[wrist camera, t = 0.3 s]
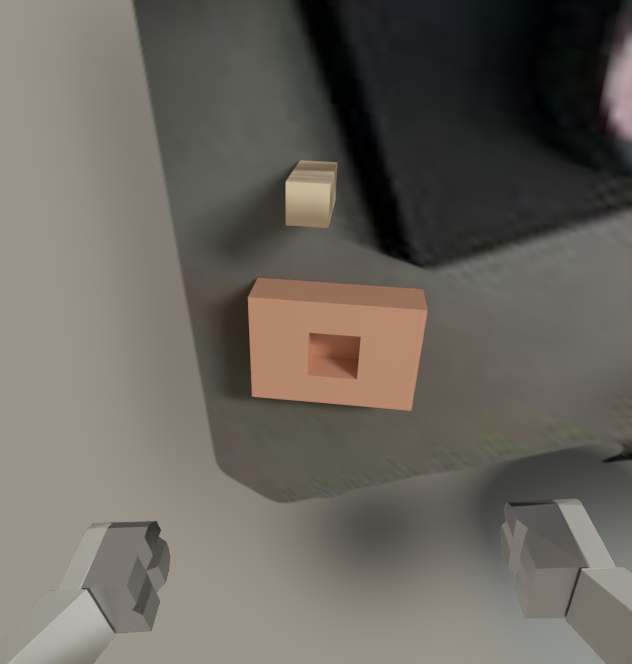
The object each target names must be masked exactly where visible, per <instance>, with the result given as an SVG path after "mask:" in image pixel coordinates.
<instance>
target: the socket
mask: <svg viewBox="0 0 632 664" xmlns="http://www.w3.org/2000/svg"><path fill="white" fill-rule="evenodd" d="M427 311H428V310H427V305H426V301H425V296H424V291H423V289H413V288H398V287H384V286H370V285H355V284H341V283H327V282H312V281H298V280H284V279H269V278H257V280H256V282H255V284H254V286H253V288H252V290H251V292H250V294H249V296H248V313H249V335H250V358H251V381H252V397H262V398H273V399H285V400H296V401H308V402H319V403H331V404H342V405H353V406H365V407H376V408H388V409H399V410H410V411H411V408H412V402H413V396H414V390H415V384H416V378H417V372H418V366H419V360H420V353H421V347H422V341H423V335H424V329H425V323H426V317H427Z"/></svg>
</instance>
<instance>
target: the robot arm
mask: <svg viewBox="0 0 632 664" xmlns="http://www.w3.org/2000/svg"><path fill="white" fill-rule="evenodd" d="M504 514H505V517H506V520H507V522H505V523H504V524H503V525H502V530H501V541H502V549H503V553H504V558H505V561H506V564H507V567H508V569H509V570H510V571H511V572H512V573H514V574H515V575H516V582H515V587H514V588H515V591H516V594H517V597H518V600H519V603H520V606H521V609H522V612H523V615H524V617H525V618H566V621H567V622H568V624H569V625H570V626H571V627H572V628H573V629H574V630H575V631H576V632H577V633H578V634H579V635H580V636H581V637H582V638H583V639H584V640H585V642H586V643H587V644H588V645H589V646H590V647H591V648H592V649H593V650H594V651H595V652H596V653H597V654H598V655H599V656H600V658H601V659H602V660H603V661H604V662H605V663H606V664H632V573H630V572H629V571H628V570H627V569H625V568H624V567H616V566H615V564H614V562H613V561H612V559H611V557H610V555H609V553H608V551H607V550H606V548H605V546H604V544H603V542H602V540H601V539H600V537H599V535H598V533H597V531H596V529H595V527H594V526H593V524H592V522H591V520H590V518H589V517H588V515H587V513H586V511H585V509H584V507H583V505H582V504H581V502H580V501H578V500H577V499H563V500H536V501H521V502H508V503H507V504H506V505H505V509H504ZM160 531H161V529H160V527H159V526H158V523H157V521H146V522H110V523H93V524H92V525H91V526H90V527H89V528H88V529H87V530H86V532H85V534H84V536H83V538H82V540H81V542H80V545H79V547H78V549H77V551H76V553H75V555H74V557H73V559H72V561H71V563H70V565H69V567H68V569H67V571H66V573H65V576H64V578H63V580H62V582H61V584H60V586H59V588H58V590H51V591H50V592H49V593H48V594H47V595H46V596H45V597H43V598H42V599H41V600H40V601H39V602H38V603H37V604H36V605H35V606H33V607H32V608H31V609H30V610H29V611H28V612H27V613H26V614H24V616H22V617H21V618H20V619H19V620H18V621H17V622H16V623H14V624H13V625H12V626H11V627H10V628H9V629H8V630H7V631H5V632H4V633H3V634H2V635H1V636H0V664H93V663H94V662H95V661H96V660H97V658H98V657H99V656H100V655H101V653H102V652H103V651H104V650H105V648H106V647H107V646H108V645H109V643H110V642H111V641H112V640H113V638H114V637H115V633H129V632H144V631H151V630H152V627H153V624H154V621H155V617H156V614H157V610H158V607H159V604H160V600H159V598H158V595H157V593H156V592H157V591H158V590H159V589H160V588H161V587H162V586H163V585H164V584H165V583H166V579H167V576H168V572H169V564H170V553H169V548H168V545H167V543H166V541H164V540H163V539H161V538H160V537H159V534H160Z"/></svg>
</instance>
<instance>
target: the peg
mask: <svg viewBox="0 0 632 664" xmlns="http://www.w3.org/2000/svg"><path fill="white" fill-rule="evenodd" d="M336 178H337V162H321V161H302V160H300V161H299V163H298V164H297V166H296V167H295V169H294V170H293V172H292V173H291V175H290V176H289V177H288V179H287V180H286V225H289V226H306V227H322V228H328V227H329V223H330V219H331V215H332V211H333V207H334V203H335V198H336Z"/></svg>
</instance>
